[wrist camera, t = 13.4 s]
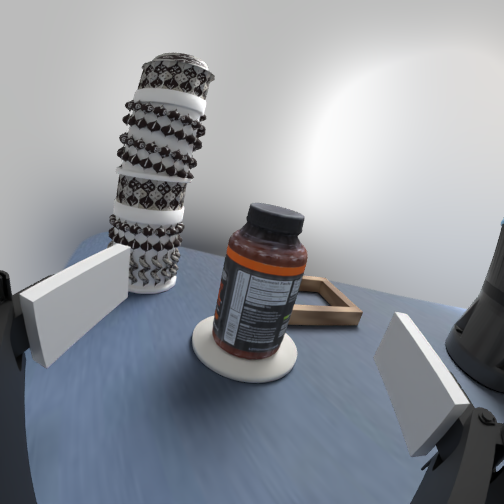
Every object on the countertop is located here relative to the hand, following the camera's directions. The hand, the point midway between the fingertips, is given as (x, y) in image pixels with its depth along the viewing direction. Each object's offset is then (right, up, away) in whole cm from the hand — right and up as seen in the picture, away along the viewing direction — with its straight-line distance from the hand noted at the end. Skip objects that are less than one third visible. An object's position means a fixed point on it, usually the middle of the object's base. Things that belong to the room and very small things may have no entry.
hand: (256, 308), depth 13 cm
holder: (+6, -4, +22) cm, 23 cm away
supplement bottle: (-1, -5, +11) cm, 12 cm away
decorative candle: (-13, -1, +19) cm, 23 cm away
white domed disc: (-1, -6, +11) cm, 12 cm away
